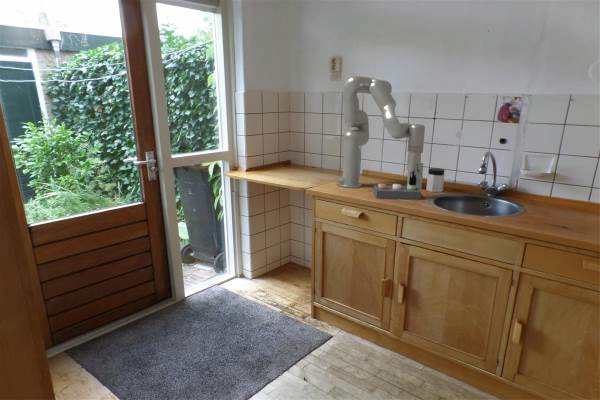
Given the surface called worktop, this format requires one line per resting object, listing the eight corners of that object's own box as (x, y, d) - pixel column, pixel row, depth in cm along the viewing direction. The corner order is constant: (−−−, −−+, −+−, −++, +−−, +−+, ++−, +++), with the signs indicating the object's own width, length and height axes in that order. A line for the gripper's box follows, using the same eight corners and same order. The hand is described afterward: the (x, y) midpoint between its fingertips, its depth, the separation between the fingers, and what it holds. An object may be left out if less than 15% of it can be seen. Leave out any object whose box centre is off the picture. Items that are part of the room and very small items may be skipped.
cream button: (392, 192, 201) (393, 185, 200) (391, 190, 205) (391, 183, 205) (401, 192, 201) (402, 185, 200) (399, 190, 205) (400, 184, 204)
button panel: (376, 198, 199) (377, 190, 198) (373, 192, 210) (373, 185, 209) (420, 199, 198) (421, 192, 197) (414, 193, 209) (415, 186, 208)
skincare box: (421, 189, 220) (424, 163, 216) (411, 189, 219) (414, 163, 215) (415, 185, 228) (418, 160, 224) (405, 186, 227) (408, 160, 223)
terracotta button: (378, 191, 202) (378, 185, 201) (377, 189, 206) (377, 183, 205) (386, 192, 201) (387, 185, 200) (385, 190, 206) (386, 183, 205)
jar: (423, 189, 220) (425, 168, 217) (434, 188, 223) (436, 167, 220) (434, 193, 212) (436, 171, 209) (445, 191, 215) (448, 170, 212)
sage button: (407, 192, 201) (408, 186, 200) (405, 190, 205) (406, 184, 204) (416, 193, 201) (417, 186, 200) (414, 190, 205) (414, 184, 204)
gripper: (404, 147, 205) (402, 181, 209) (411, 151, 190) (408, 187, 195) (419, 147, 204) (416, 181, 209) (426, 151, 190) (423, 188, 194)
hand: (412, 184), depth 202 cm, fingers closed
